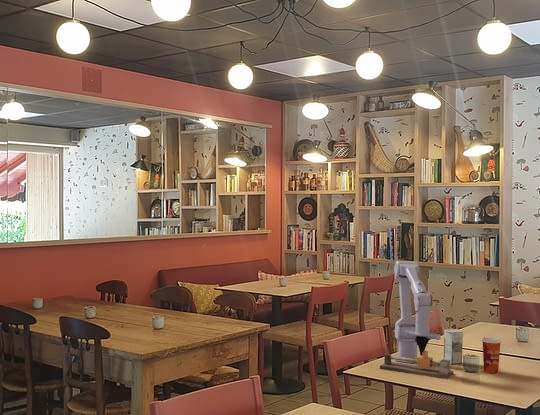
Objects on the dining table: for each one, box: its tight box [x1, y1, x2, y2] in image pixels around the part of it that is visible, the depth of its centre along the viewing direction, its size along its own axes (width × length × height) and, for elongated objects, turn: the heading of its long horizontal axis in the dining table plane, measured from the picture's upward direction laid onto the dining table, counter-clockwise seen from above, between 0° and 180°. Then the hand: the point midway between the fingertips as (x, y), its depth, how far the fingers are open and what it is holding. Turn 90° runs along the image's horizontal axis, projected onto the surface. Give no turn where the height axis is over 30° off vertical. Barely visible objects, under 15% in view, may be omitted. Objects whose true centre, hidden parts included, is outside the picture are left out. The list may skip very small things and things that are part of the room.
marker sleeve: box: [417, 350, 434, 369], centre depth 267 cm, size 4×5×6 cm
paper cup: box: [481, 336, 502, 374], centre depth 270 cm, size 8×8×14 cm
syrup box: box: [443, 328, 464, 365], centre depth 286 cm, size 6×6×14 cm
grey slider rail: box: [379, 353, 454, 380], centre depth 269 cm, size 10×28×6 cm, turn 58°
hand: (422, 355), depth 268 cm, fingers closed
